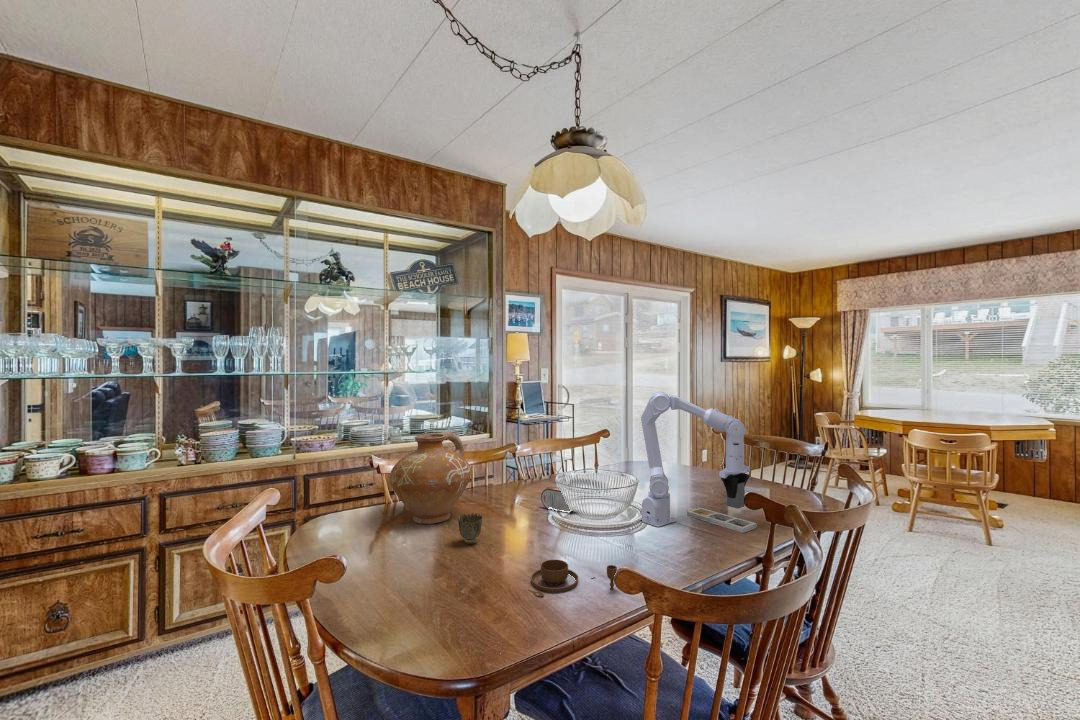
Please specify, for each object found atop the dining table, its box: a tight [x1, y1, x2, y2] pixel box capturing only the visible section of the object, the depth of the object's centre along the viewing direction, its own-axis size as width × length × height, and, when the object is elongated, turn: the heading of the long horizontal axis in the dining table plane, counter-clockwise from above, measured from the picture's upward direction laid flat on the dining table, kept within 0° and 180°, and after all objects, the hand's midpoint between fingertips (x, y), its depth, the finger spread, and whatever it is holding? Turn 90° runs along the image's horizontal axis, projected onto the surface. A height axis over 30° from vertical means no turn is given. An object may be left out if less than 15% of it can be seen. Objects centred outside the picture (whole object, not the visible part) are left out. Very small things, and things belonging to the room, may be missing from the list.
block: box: [726, 481, 746, 509], centre depth 162 cm, size 4×4×8 cm
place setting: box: [527, 559, 618, 598], centre depth 120 cm, size 18×20×6 cm
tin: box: [540, 485, 570, 511], centre depth 180 cm, size 15×3×8 cm, turn 58°
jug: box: [389, 431, 472, 525], centre depth 173 cm, size 28×28×30 cm
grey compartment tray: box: [686, 507, 758, 534], centre depth 167 cm, size 8×22×2 cm, turn 36°
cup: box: [457, 512, 483, 545], centre depth 150 cm, size 8×7×8 cm
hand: (735, 496), depth 162 cm, fingers closed on block, 4 cm apart
